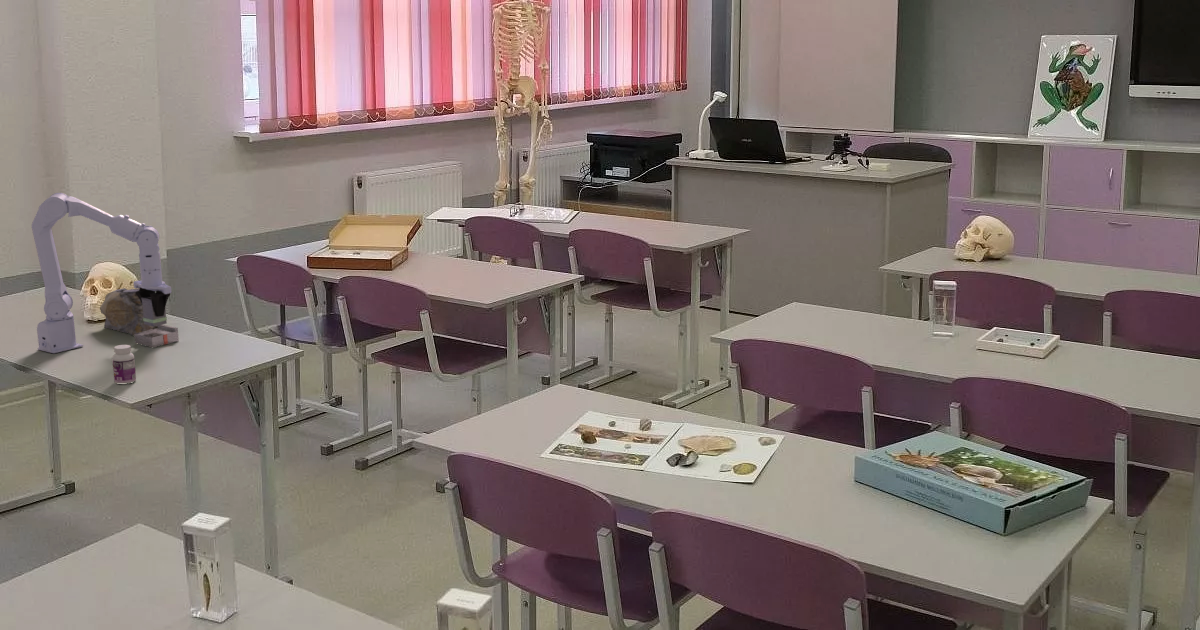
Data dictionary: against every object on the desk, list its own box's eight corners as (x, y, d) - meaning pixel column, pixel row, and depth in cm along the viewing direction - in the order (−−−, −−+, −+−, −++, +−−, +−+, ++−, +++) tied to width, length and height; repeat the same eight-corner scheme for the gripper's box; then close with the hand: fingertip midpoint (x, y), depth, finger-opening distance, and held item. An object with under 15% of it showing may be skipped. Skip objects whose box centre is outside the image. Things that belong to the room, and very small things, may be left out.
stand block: (153, 347, 347) (151, 334, 346) (135, 343, 352) (133, 330, 351) (179, 341, 354) (178, 327, 354) (161, 337, 359) (160, 324, 358)
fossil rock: (102, 340, 369) (94, 292, 368) (130, 336, 377) (122, 288, 376) (140, 337, 357) (132, 286, 356) (168, 332, 365) (161, 283, 364)
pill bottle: (110, 382, 314) (106, 346, 312) (129, 378, 318) (125, 342, 316) (121, 386, 311) (118, 350, 308) (140, 381, 315) (137, 346, 312)
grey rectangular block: (153, 326, 349) (151, 299, 347) (143, 324, 351) (141, 297, 349) (167, 323, 352) (164, 296, 350) (157, 321, 355) (154, 294, 353)
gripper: (178, 269, 347) (182, 315, 350) (146, 263, 355) (150, 308, 358) (157, 273, 342) (161, 320, 345) (125, 267, 349) (130, 313, 352)
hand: (154, 314), depth 351 cm, fingers closed on grey rectangular block, 4 cm apart
